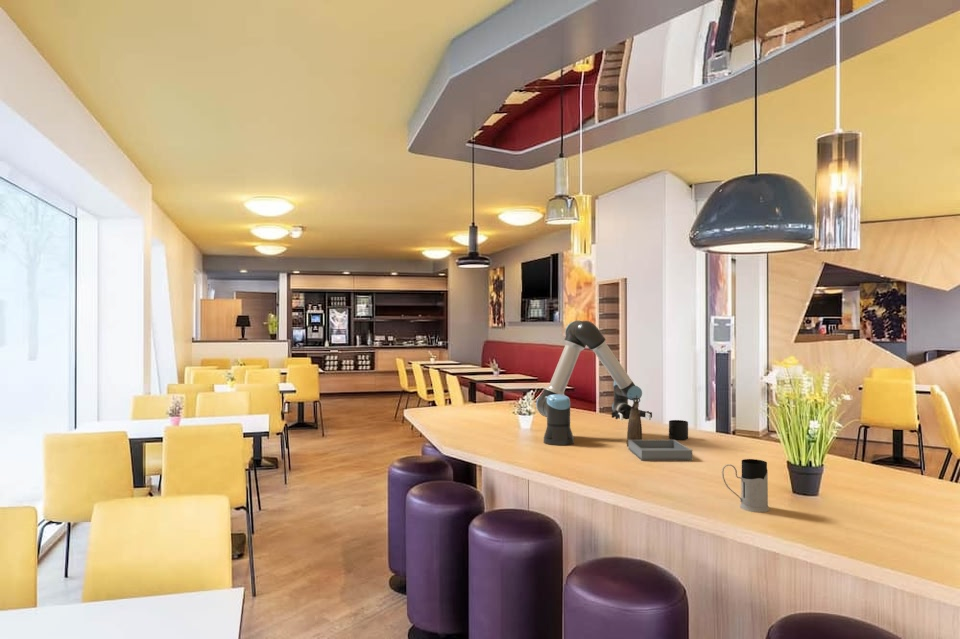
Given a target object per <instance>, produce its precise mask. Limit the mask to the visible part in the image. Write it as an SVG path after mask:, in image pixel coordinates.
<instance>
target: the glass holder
mask: <svg viewBox="0 0 960 639" xmlns="http://www.w3.org/2000/svg"><path fill="white" fill-rule="evenodd" d="M726 467H733V469H734V471H735V473H734V474H735V477H736V478H737V479H740V486H741V487H740V490H741V492H740V493H741V494H740V495H738V494H737V493H736V492H734V491H733V490H732V489H731V488H730V487H729V486H728V484H727V482H726V479H725V475H724V473H725V472H724V470H725V469H726ZM768 474H769V473H768V462H767V461H765V460H762V459H756V458H755V459H754V458H744V459H742V460H741V475H740V476H738V471H737V468H736V466H734V465H733V464H725V465H724V466H723V467H722V472H721V475H722V479H723V483H724V485H725V486H726V488H727V489H728V490H729V491H730V492H731V493H732V494H734V495H735V496H736V497H738V499H739V500H740V504H739V508H740V509H742V510H744V511H747V512H751V513H767V512H769V511H770V508H769V499H768V498H769V495H768V493H769V491H768V490H769V488H768V485H769V484H768V478H769V477H768V476H769V475H768ZM740 496H741V497H740Z"/></svg>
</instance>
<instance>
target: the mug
mask: <svg viewBox="0 0 960 639" xmlns="http://www.w3.org/2000/svg"><path fill="white" fill-rule="evenodd" d="M688 439H689V421H687V420H682V419H680V420H679V419H673V420H668V440H676V441H678V442H679V441H680V442H681V441H688Z"/></svg>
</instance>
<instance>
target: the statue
mask: <svg viewBox="0 0 960 639" xmlns="http://www.w3.org/2000/svg"><path fill="white" fill-rule="evenodd" d="M633 399H634V400H633ZM635 399H637V400H636V401H635ZM638 399H639V400H638ZM631 401H632V402H633V404H632V406H631V407H632V408H631V411H630V415H629V419H628V423H627V431H626V432H627V434H626V447H628V440H643V429H642V428H643V427H642V419H641V418H642V417H640V410H641V409H639V407H640V406H639V405H640V404H639V403H640V402H641V398H637V395H636V398H632V400H631Z"/></svg>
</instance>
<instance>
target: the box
mask: <svg viewBox="0 0 960 639" xmlns="http://www.w3.org/2000/svg"><path fill="white" fill-rule="evenodd" d="M628 450H629V451H630V452H631V453H632V454H633V455H635V457H636V458H638V459H639V460H640V461H641V462H642V461H643V462H646V461H647V462H649V461H650V462H653V461H654V462H660V461H663V462H665V461H666V462H676V461H677V462H679V461H681V462H683V461H684V462H685V461H686V462H687V461H688V462H689V461H693V449H691V448H690V447H688V446H686V445H684V444H682V443H680V442H679V440H672V439H642V440H628Z"/></svg>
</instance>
